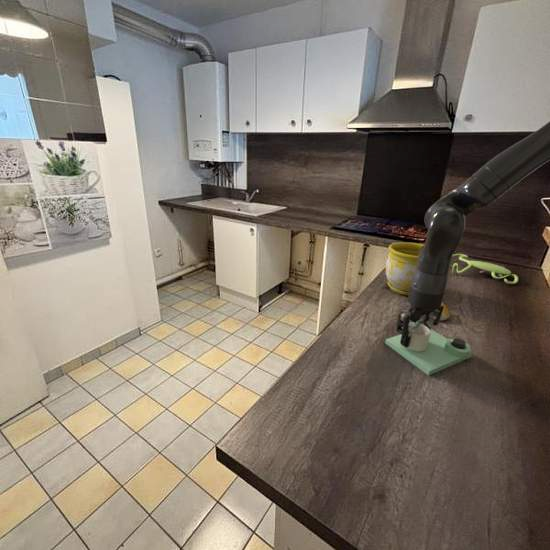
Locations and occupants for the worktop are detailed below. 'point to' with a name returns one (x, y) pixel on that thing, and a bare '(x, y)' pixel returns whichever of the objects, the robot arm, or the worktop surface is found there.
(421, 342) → the bowl
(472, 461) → the worktop surface
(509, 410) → the worktop surface
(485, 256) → the worktop surface
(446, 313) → the bread roll
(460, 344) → the power button
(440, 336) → the scale
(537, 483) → the worktop surface
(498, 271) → the figurine
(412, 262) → the flowerpot
